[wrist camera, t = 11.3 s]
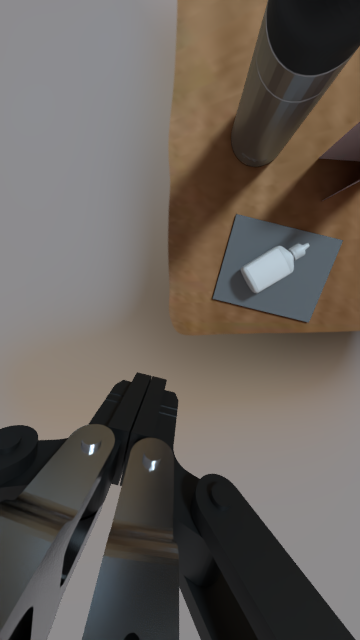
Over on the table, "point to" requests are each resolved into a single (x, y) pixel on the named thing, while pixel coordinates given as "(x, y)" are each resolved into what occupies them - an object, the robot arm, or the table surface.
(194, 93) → the table surface
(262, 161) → the robot arm
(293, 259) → the eye dropper bottle
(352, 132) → the greeting card
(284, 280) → the mat
